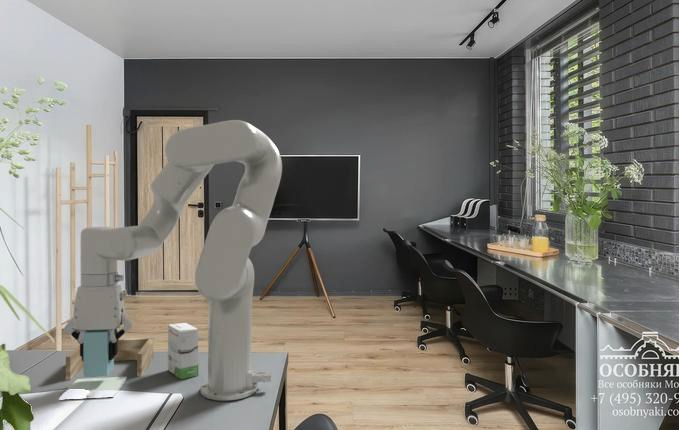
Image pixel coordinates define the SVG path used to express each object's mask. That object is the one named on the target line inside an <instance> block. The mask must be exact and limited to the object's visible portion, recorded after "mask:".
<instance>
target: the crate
mask: <svg viewBox="0 0 679 430" xmlns="http://www.w3.org/2000/svg"><path fill="white" fill-rule="evenodd" d="M153 359H154V337H141V338H140V337H138V338H119V339H118V353H117V355H115V357H114V362H115V361H133V360H134V361H136V363H137V364H136V366H137V367H136V369H137V370H136V376H137V377H142V376H143V375H144V373H145V371H146V370H147V369H148V367H149V365H150V364H151V362H152V360H153ZM82 369H84V361H82V356H80V345H79V346H77V347H76V348H75V349H74V350H73V351H71V352H70V353H68V355H66V356H65V380H66V381H68V380H69V381H70V380H71V379H73V378H74V377H75V376H76V375H77V374H78V373H79V372H80V371H81V370H82Z"/></svg>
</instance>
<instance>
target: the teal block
mask: <svg viewBox="0 0 679 430" xmlns="http://www.w3.org/2000/svg"><path fill="white" fill-rule="evenodd" d="M109 343H110V336H109V331H108V330H99V331H87V332H84V367H83V378H101V377H107V376H109V375H110V374H111V373H112V371H114V369H115V365H114V364H115V361H114V358H113V359H112V360H109Z"/></svg>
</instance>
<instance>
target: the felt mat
mask: <svg viewBox="0 0 679 430" xmlns="http://www.w3.org/2000/svg"><path fill="white" fill-rule="evenodd" d="M127 380H128V378H127V376H115V377H113V376H112V377H111V376H110V377H87V378H76V380H74V382H72V383H71V384H70V385H69V387H68V388H66V390H69V389H85V390H89V391H90V393H89V394H87V395H86V397H87V398H88V397H90V396H92V394H93V393H94V392H96V391H100V390H116V391H117V390H119V391H120V389H121V388H122V386H124V384H125V382H126V381H127Z"/></svg>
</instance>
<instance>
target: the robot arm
mask: <svg viewBox="0 0 679 430" xmlns="http://www.w3.org/2000/svg"><path fill="white" fill-rule="evenodd" d="M164 154H165V157H166V159H167V162H166V163H165V165H164V166H163V167H162V169H161V170H160V171H159V173H158V174H157V175H156V177H155V178H154V179H153V180H152V182H151V184H150V189H151V191H152V194H153V202H152V205H151V207H150V209H149V211H148V212H147V214H146V215H145V216H144V218H143V219H142V221H140V223H139V224H138V225H132V226H130V225H129V226H124V227H123V226H122V227H115V228H114V227H111V226H90V227H89V226H88V227H85V228H83V229H82V230H81V232H80V286H78V287H77V289H76V293H75V299H74V305H73V315H72V318H70V320H69V321H68V322H67V323H66V325H65V326H64V327H63V331H64V332H66V333H68V334H69V335H71V337H72V338H73V339H75V340H76V341H77V343H78V344H79V346H80V356H82V361H84V332H87V331H99V330H108V331H109V336H110V343H109V360H112V359H113V358H114V357H115V355H117V353H118V339H121V337H122V336H124V334H126V333H127V332H128V331H130V329H132V328H133V327H134V324H133V322H132V321H131V320H130V319H129V318H128V317H127V316H126V315H125V314H126V312H125V300H124V293H123V288H122V285H121V284H118V283H119V282H123V281H124V275H123V274H119V272H118V261H125V262H126V261H131V260H136V259H138V258H139V259H140V258H144V257H148V256H150V255H152V254H153V253H155V252H156V251H157V250H158V249H160V247H161V246H162V245H163V244H164V242H166V240H167V238H168V237H169V236H170V235H171V233H172V232H173V231H174V229H175V227H176V225H178V221H179V219H180V216H181V215H182V212H183V208H184V206H185V204H186V203H187V201H188V200H189V199H190V197H191V196H192V195H193V194H194V192H195V191H196V190H197V188H198V187H199V186H200V184H201V183H202V181H203V180H204V179H205V178H206V177H207V175H208V174H209V173H210V172H211V170H212V169H213V167H214V166H215V165H218V164H225V163H230V162H237V163H241V164H243V165H244V173H243V175H242V178H241V179H240V181H239V184H238V187H237V190H236V195H235V197H234V200H233V202H232V204H231V206H228V207H225V208H224V209H222V210H220V211H219V212H218V213H217V214H216V216H215V217H214V218H213V220H212V222H211V224H210V226H209V229H208V232H207V235H206V237H205V241H204V244H203V247H202V250H201V253H200V256H199V259H198V262H197V266H196V270H195V276H194V281H195V286H196V289H197V291H198V293H199V294H200V295H201V296H202V297H203V298H204V299H206V300H209V305H208V328H207V329H208V339H207V341H208V342H207V343H208V346H207V347H208V348H207V353H208V354H207V362H208V363H207V364H208V365H207V380H206V381H205V382H203V383H202V384H201V386H200V394H201V396H203V398H206V399H209V400H211V401H219V402H221V401H222V402H225V401H226V402H228V401H236V400H241V399H246V398H248V397H250V396H252V395H254V394H255V393H256V392H257V390H258V387H259V386H258V383H272V373H271V372H269V373H268V372H267V373H266V370H260V371H256V370H255V369H253V365H252V322H253V321H252V320H253V319H252V316H253V295H254V294H253V293H254V287H255V270H254V269H255V268H254V264H253V262H252V260H251V259H250V258H249V256H250V254H251V250H252V248H253V247H255V246H256V245H258V244H259V243H260V242H261V241H262V240H263V238H264V236H265V233H266V229H267V224H268V222H269V220H270V219H269V218H270V215H271V212H272V209H273V206H274V202H275V200H276V199H275V198H276V195H277V192H278V189H279V186H280V182H281V178H282V173H283V161H282V157H281V154H280V151H279V149H278V147H277V146H276V145H275V143H274V142H273V141H272V139H271V138H270V137H268V135H266V134H265V132H263V131H261V130H260V129H259V128H257V127H255V126H254V125H252V124H251V123H249V122H247V121H244V120H240V119H239V120H238V119H231V120H230V119H229V120H224V121H223V120H222V121H218V122H214V123H213V122H212V123H210V124H203V125H197V126H192V127H187V128H182V129H179V130H177V131H175V132H173V133H172V135H170V136H169V138H168V139H167V141H166V143H165V146H164ZM122 325H123V327H122V328H120V326H122ZM119 328H120V330H118V329H119Z"/></svg>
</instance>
